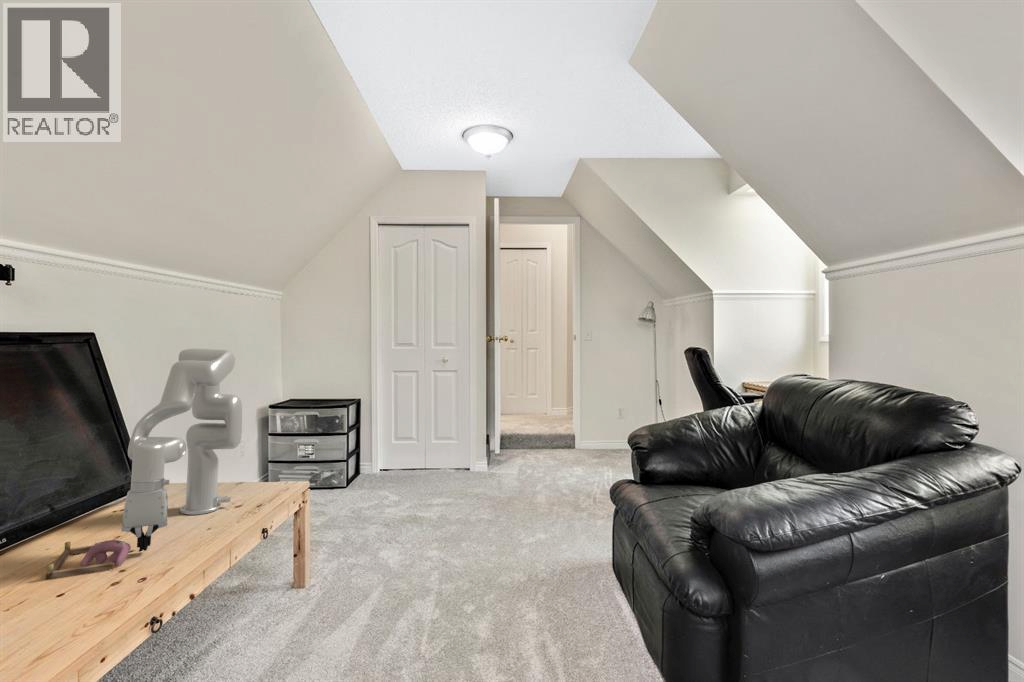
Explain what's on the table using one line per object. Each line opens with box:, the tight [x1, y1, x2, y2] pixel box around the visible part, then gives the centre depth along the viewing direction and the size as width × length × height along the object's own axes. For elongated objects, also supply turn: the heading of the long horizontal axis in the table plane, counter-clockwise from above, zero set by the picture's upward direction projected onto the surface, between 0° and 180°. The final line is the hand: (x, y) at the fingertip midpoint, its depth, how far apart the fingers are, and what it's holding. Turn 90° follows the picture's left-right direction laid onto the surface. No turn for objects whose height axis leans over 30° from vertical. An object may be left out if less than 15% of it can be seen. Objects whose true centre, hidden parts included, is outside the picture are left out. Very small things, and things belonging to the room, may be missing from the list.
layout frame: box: [45, 541, 114, 581], centre depth 132 cm, size 13×16×4 cm
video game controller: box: [80, 539, 132, 567], centre depth 132 cm, size 10×5×7 cm, turn 100°
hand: (143, 548), depth 138 cm, fingers closed
